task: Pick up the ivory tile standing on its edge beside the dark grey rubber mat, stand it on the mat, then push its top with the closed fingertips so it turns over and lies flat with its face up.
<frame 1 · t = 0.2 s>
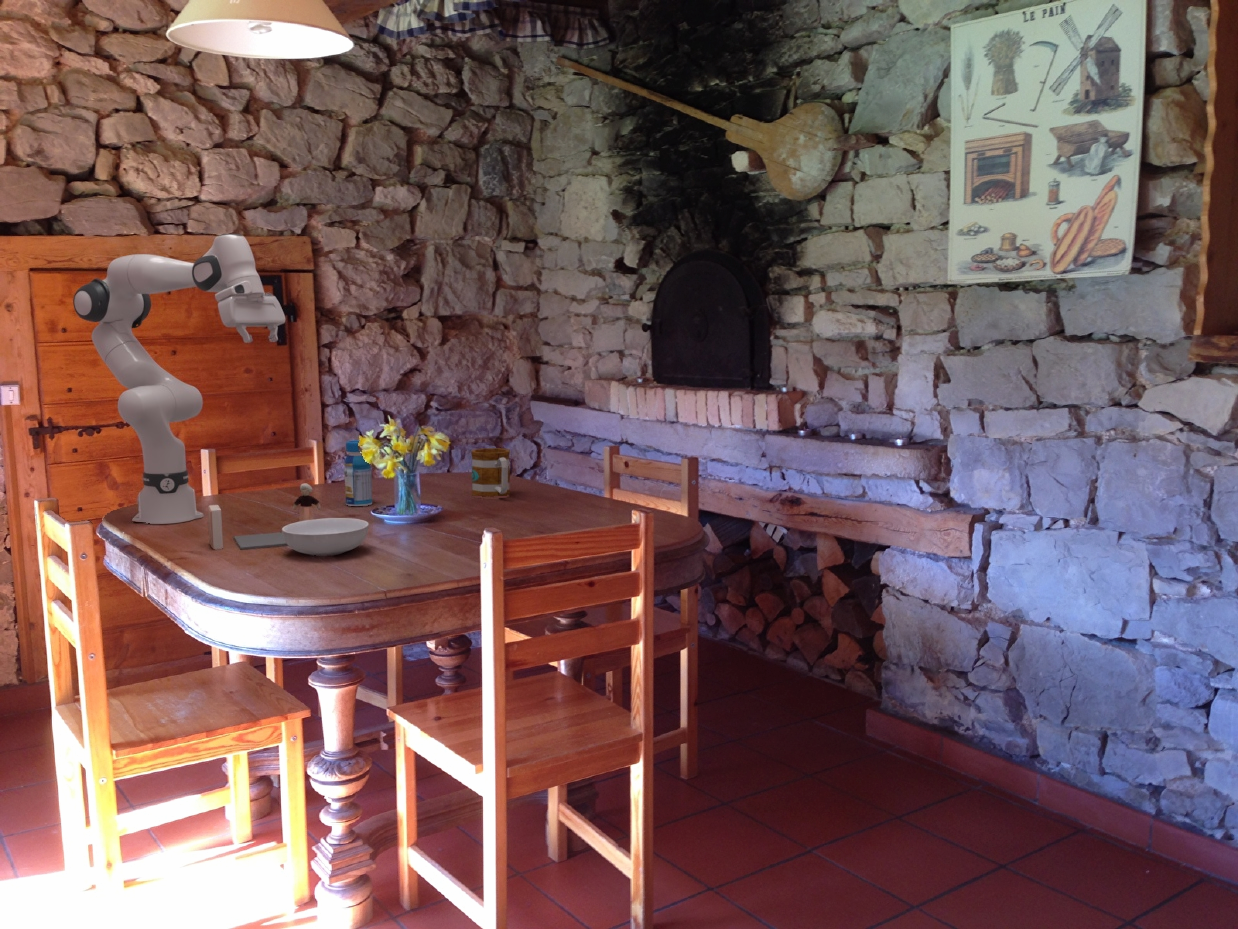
hand: (261, 341, 277), 52 cm above the table, tool tilted 20°, fingers open, 8 cm apart
grandmother figurine: (307, 528, 289), on the table
mug: (494, 497, 339), on the table
beverage bottle: (359, 505, 325), on the table
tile: (216, 546, 266), on the table
mat: (269, 541, 272), on the table
serving bowl: (326, 553, 260), on the table
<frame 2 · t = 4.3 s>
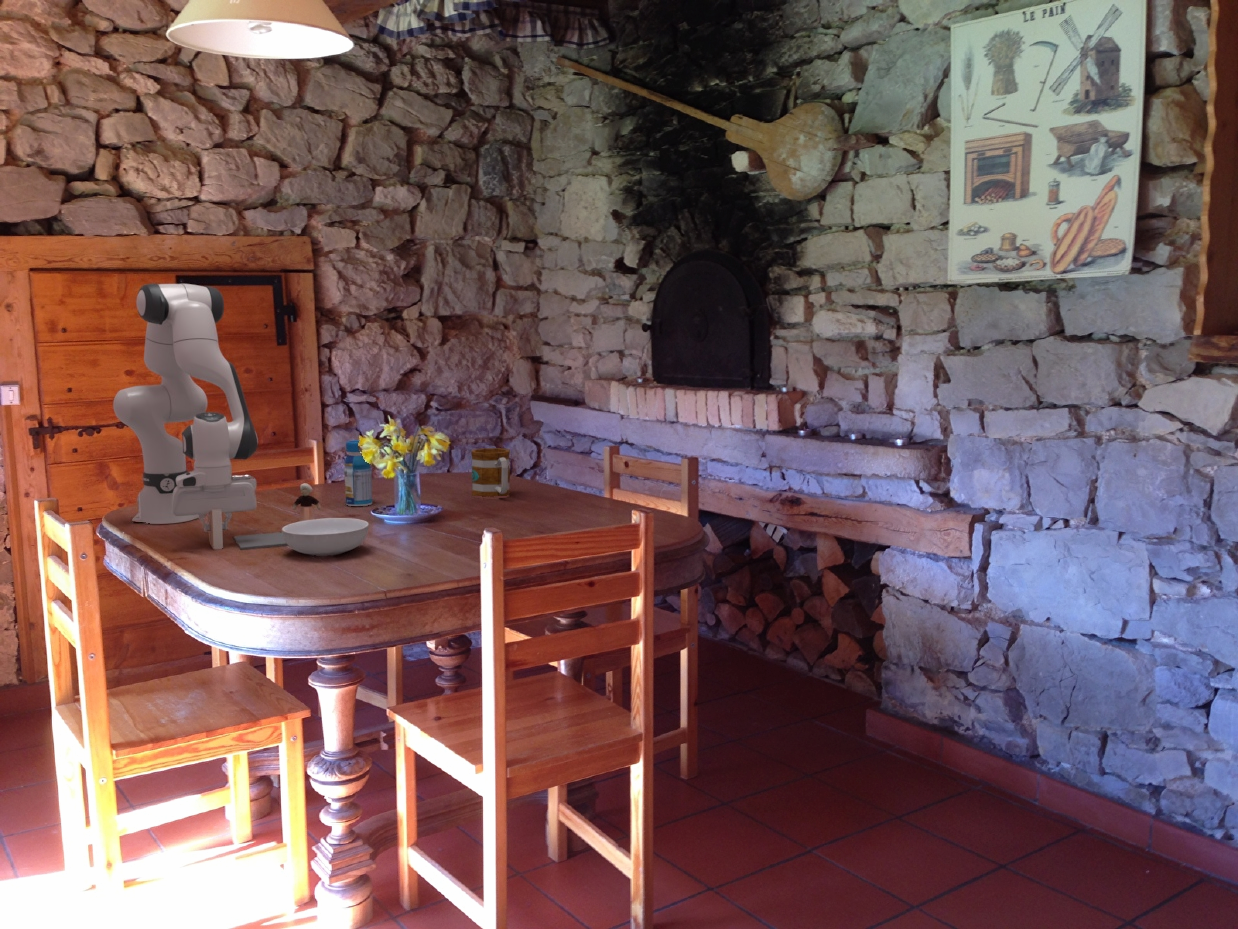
hand: (215, 530, 266), 4 cm above the table, tool pointing down, fingers closed on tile, 3 cm apart
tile: (216, 546, 266), on the table, touching gripper
everything else where it was.
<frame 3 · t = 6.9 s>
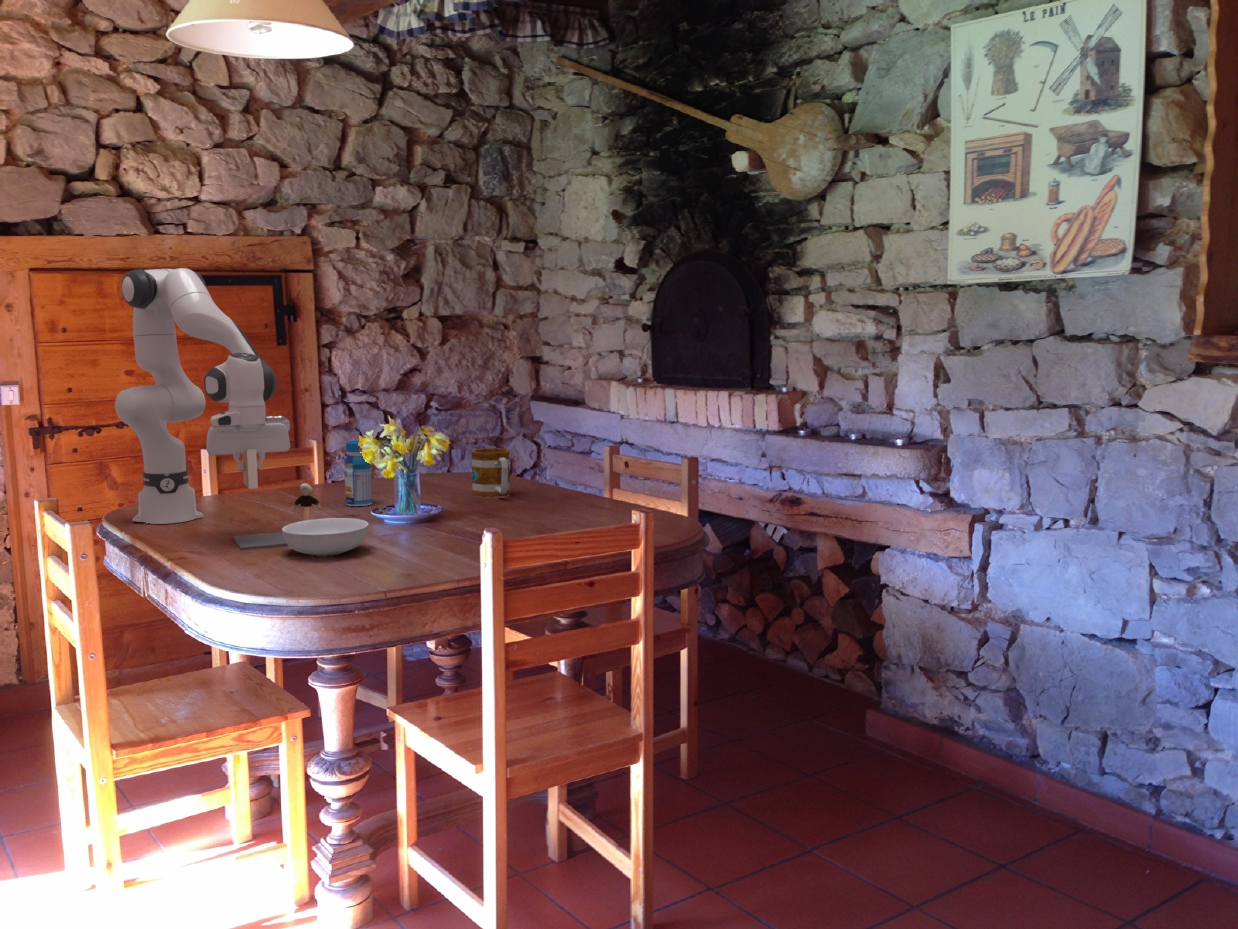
hand: (249, 470, 268), 19 cm above the table, tool pointing down, fingers closed on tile, 2 cm apart
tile: (251, 486, 268), point 15 cm above the table, touching gripper
everything else where it was.
when the fingers open (6 cm above the table, at t = 9.4 s): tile drops 1 cm, resting on mat.
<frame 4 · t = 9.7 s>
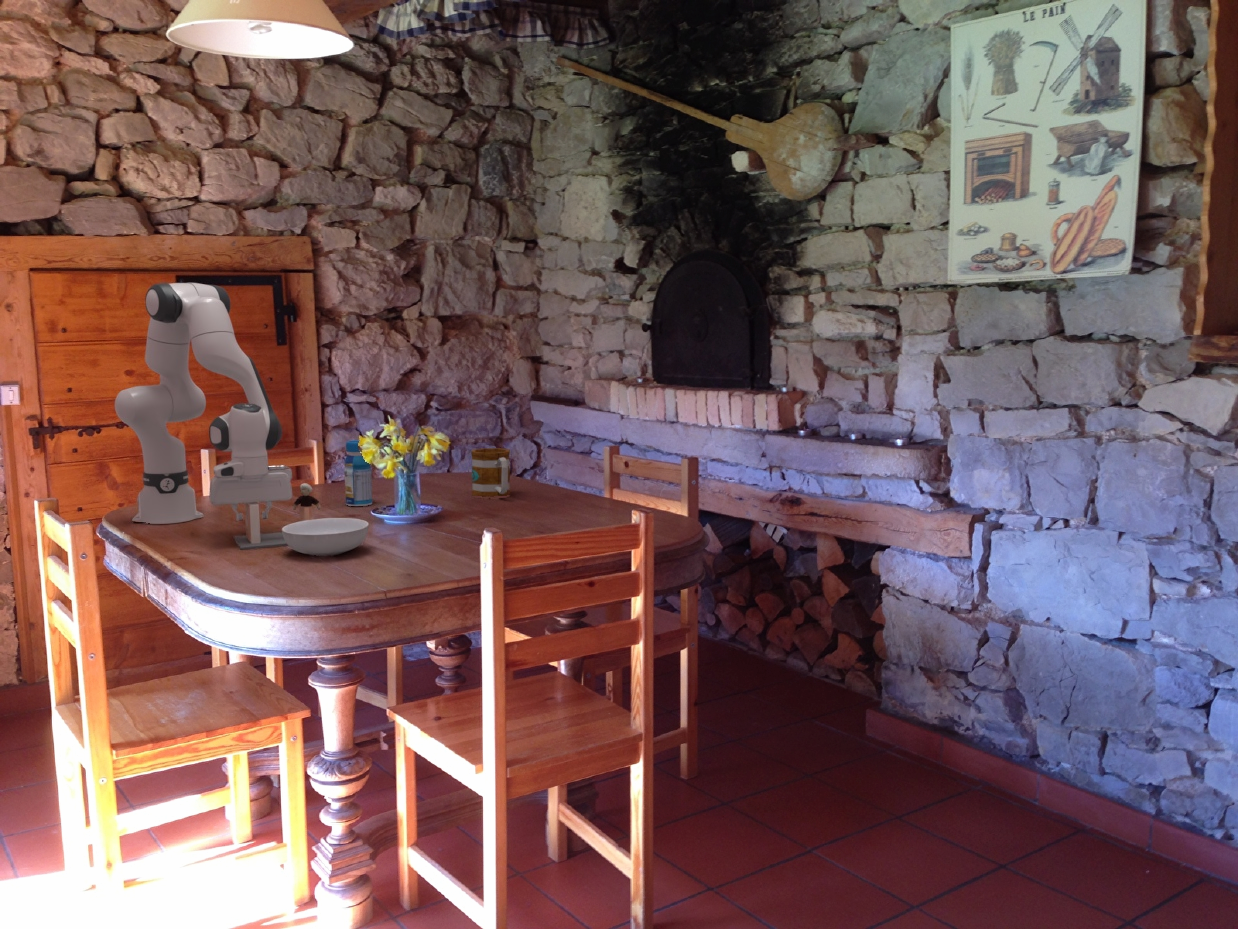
hand: (252, 519, 270), 6 cm above the table, tool pointing down, fingers open, 5 cm apart
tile: (253, 540, 270), point 1 cm above the table, touching mat
everything else where it was.
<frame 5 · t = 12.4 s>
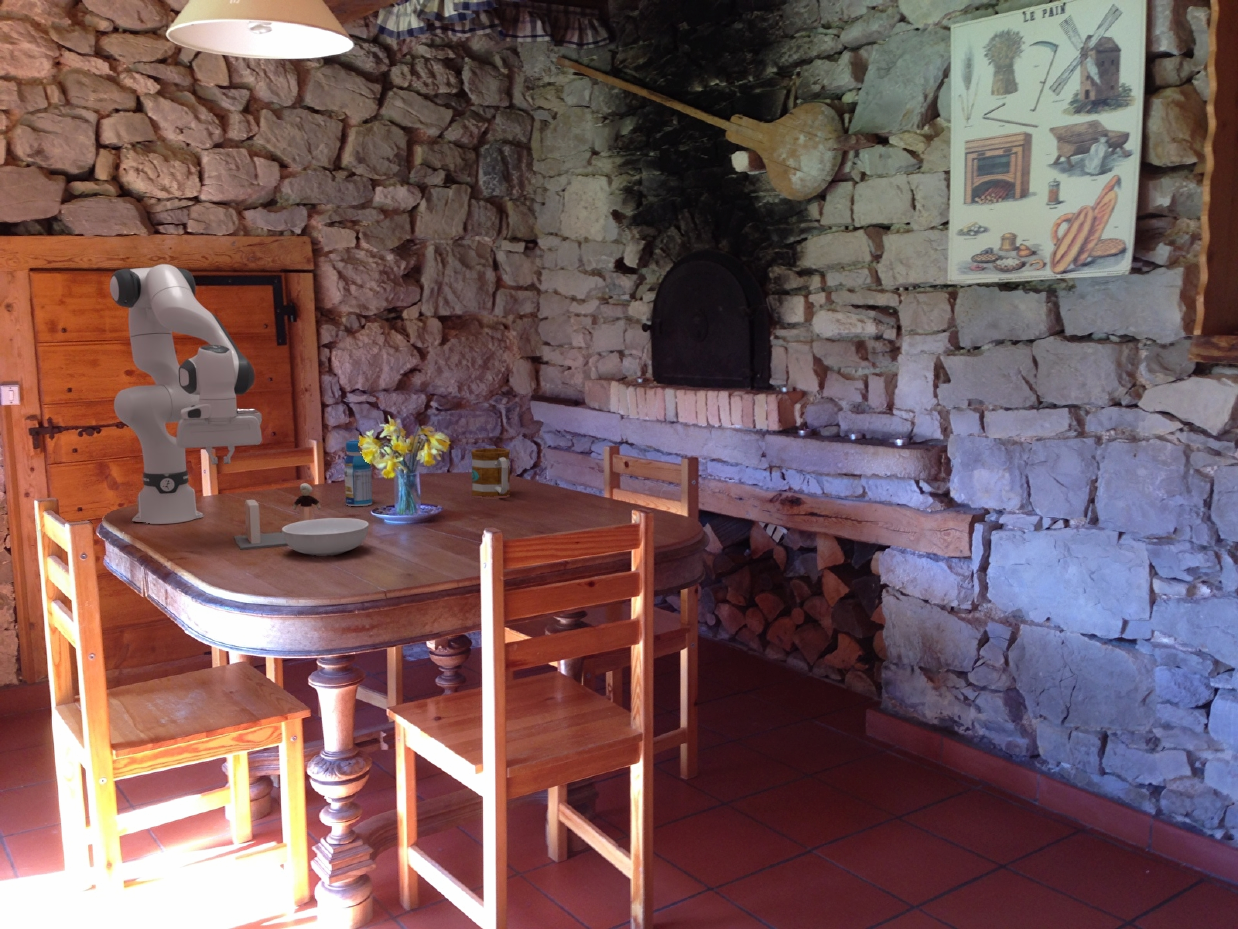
hand: (220, 464, 264), 21 cm above the table, tool pointing down, fingers closed
nothing on the table moved.
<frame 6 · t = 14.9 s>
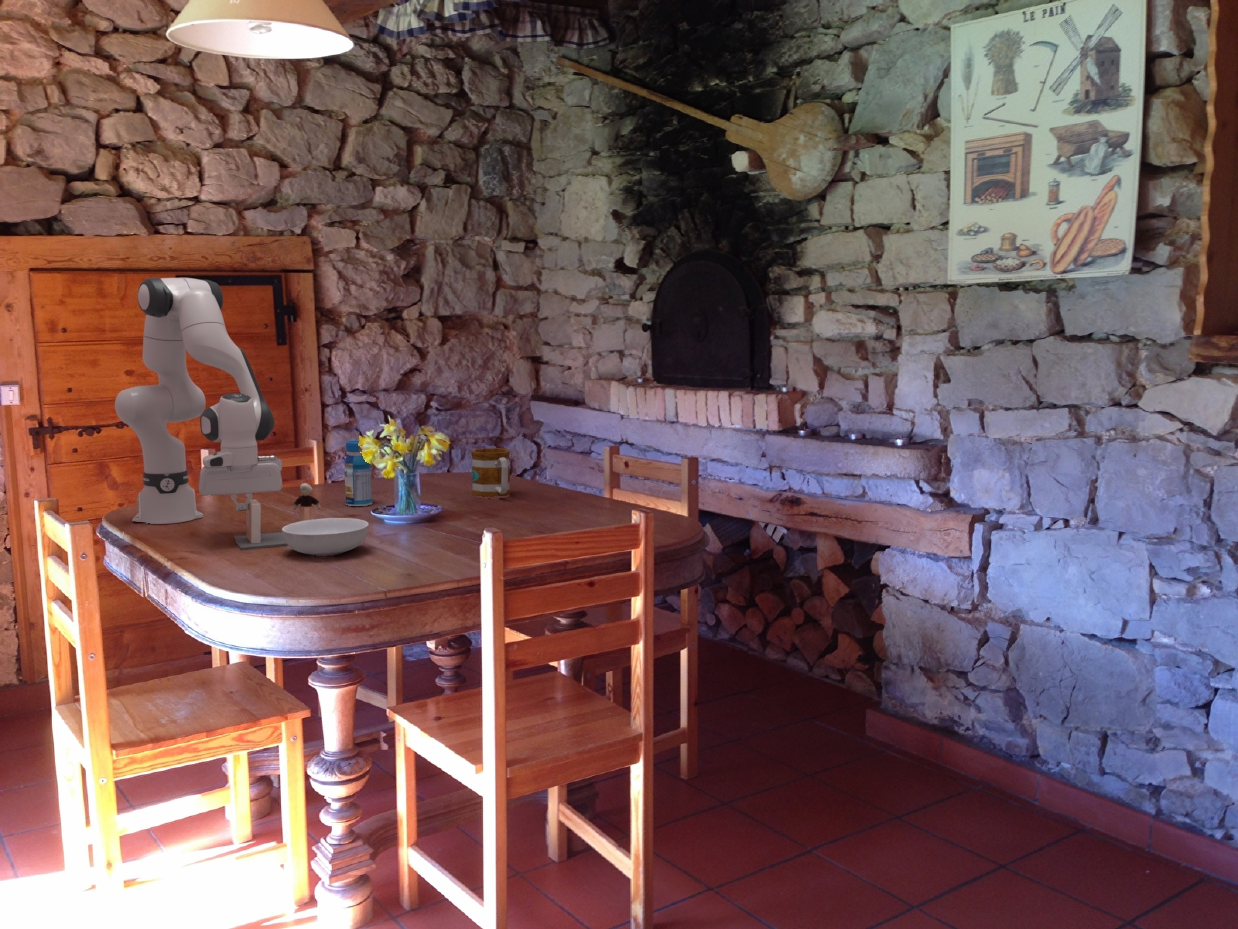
hand: (242, 510, 268), 9 cm above the table, tool pointing down, fingers closed
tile: (253, 540, 270), point 1 cm above the table, touching gripper, mat
everything else where it was.
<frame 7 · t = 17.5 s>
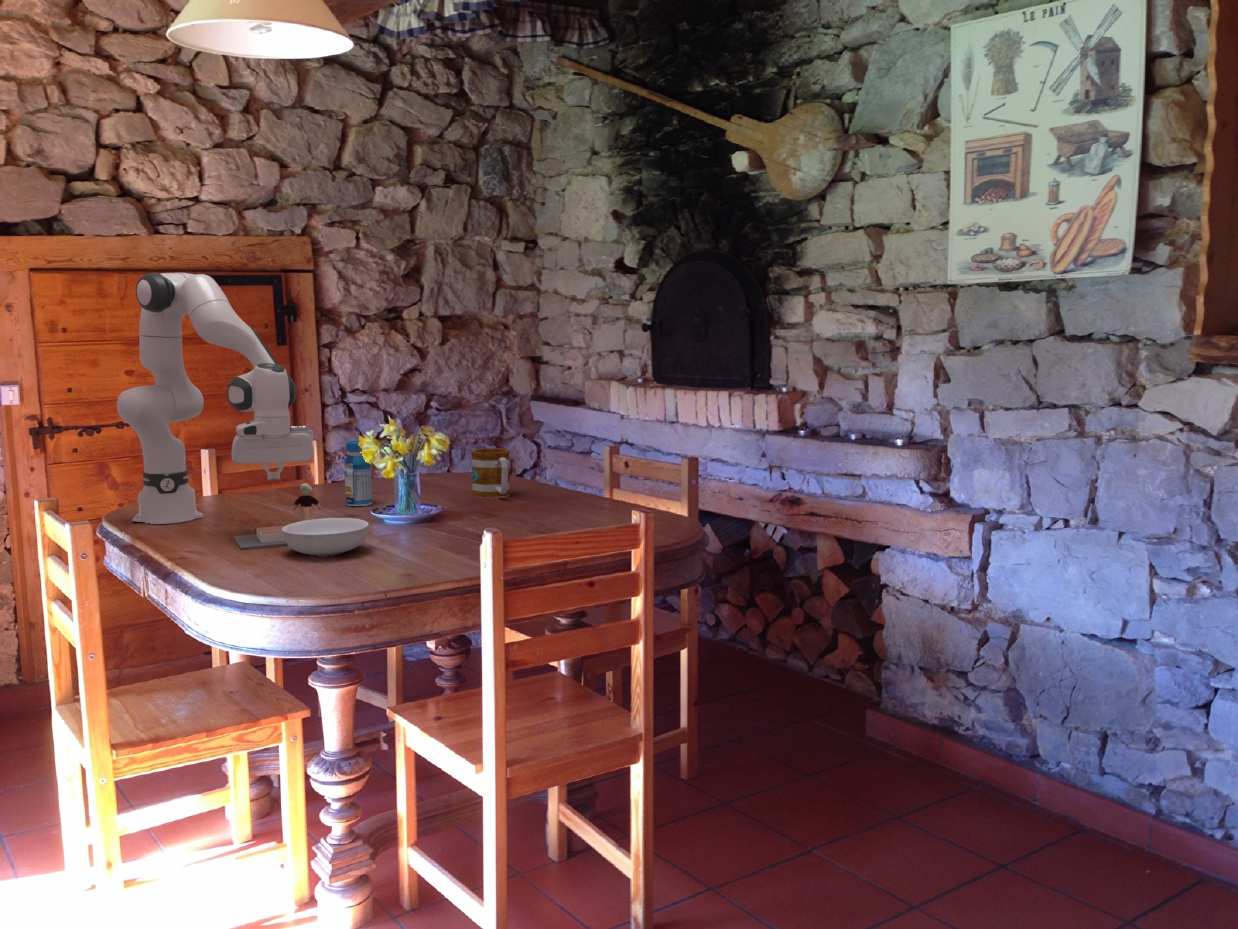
hand: (273, 479, 271), 16 cm above the table, tool pointing down, fingers closed
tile: (258, 535, 271), point 2 cm above the table, tilted 90°, touching mat
everything else where it was.
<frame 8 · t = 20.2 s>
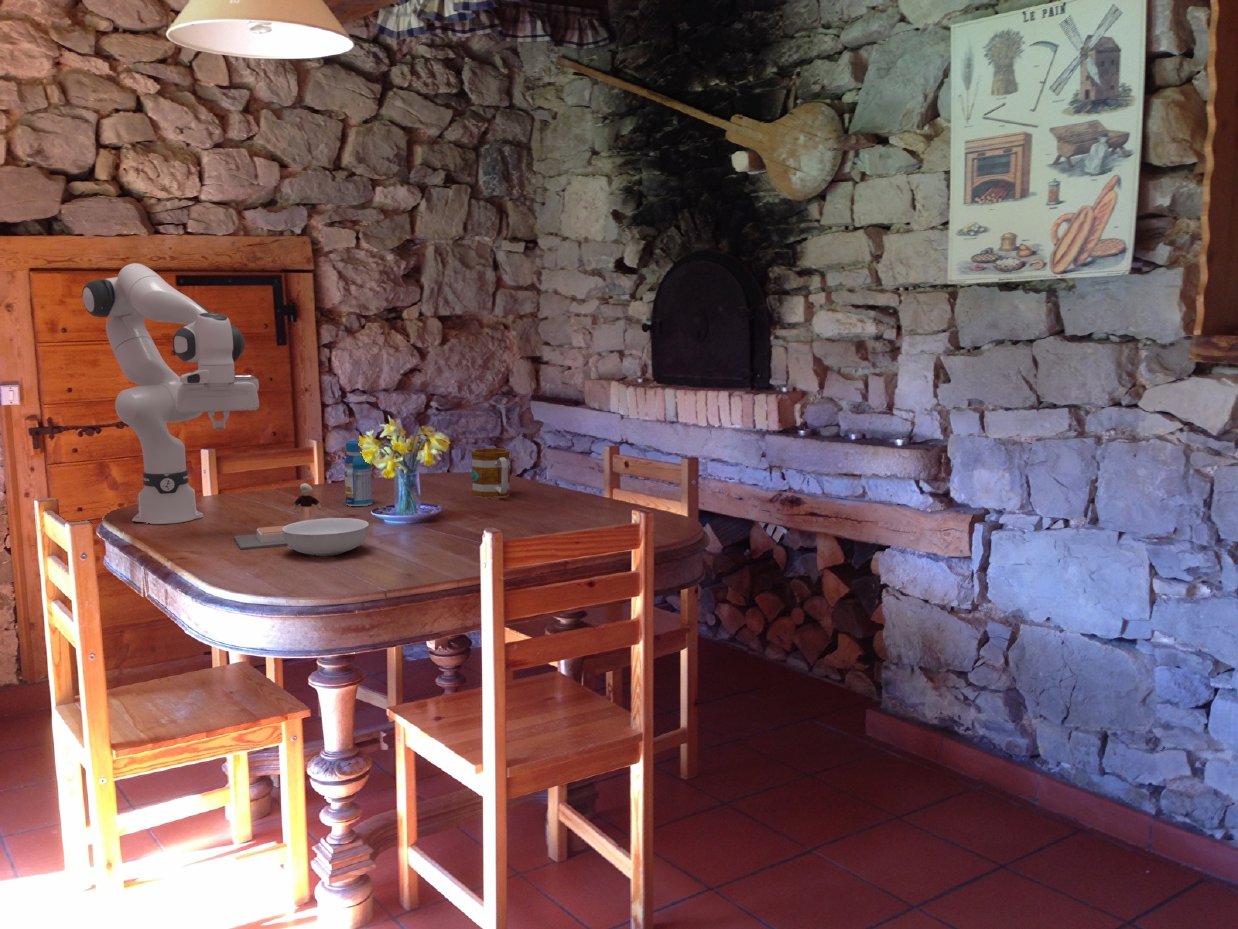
hand: (219, 428, 272), 29 cm above the table, tool pointing down, fingers closed
nothing on the table moved.
at the end: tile tilted 90°; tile inside the target area on the mat (3.7 cm from its centre), point 1.7 cm above the mat's base; the gripper is holding nothing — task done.
